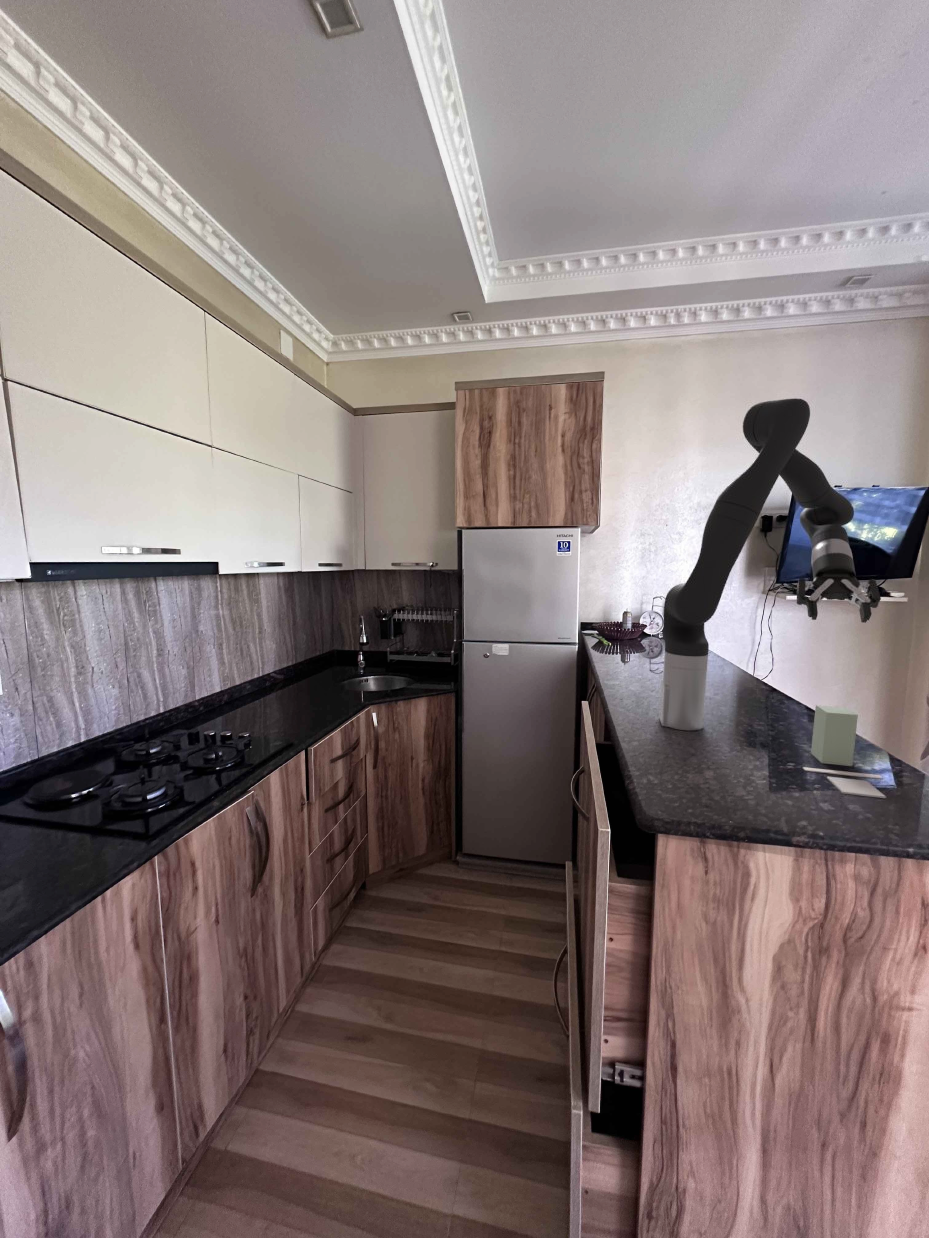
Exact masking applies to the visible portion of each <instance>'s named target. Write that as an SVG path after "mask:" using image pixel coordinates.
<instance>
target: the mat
mask: <svg viewBox="0 0 929 1238" xmlns="http://www.w3.org/2000/svg"><path fill="white" fill-rule="evenodd" d="M826 779H827V780H828V781H829V782H830V783H831V784H832V785H833V786H834V787H835V788H836V789H838V790H839V792H841V794H845V795H854V796H860V797H861V796H862V797H871V798H878V799H879V798H880V799H886V797H887V796H886V795H885V794H883V793H882V792H881V791H880V790H879V789H877V788H876V787H875V786H873V784H871V783H870V782H869V781H868V780H865V779H864V780H862V779H855V778H844V777H837V776H836V777H835V776H826Z"/></svg>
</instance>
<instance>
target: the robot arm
mask: <svg viewBox="0 0 929 1238" xmlns="http://www.w3.org/2000/svg"><path fill="white" fill-rule="evenodd" d="M810 417H811V407H810V405H809V403H808V402H807V401H806V400H805V399H804V398H803V399H802V398H798V397H797V398H785V399H784V398H783V399H776V400H767V401H763V402H758V403H755V404H753V405H752V406H751V407H750V408H749V409H748V410H747V411H746V413H745V415H744V417H743V421H742V433H743V435H744V438H745V439H746V441H747V442H748V443H749V445H750V446H751V447H752V448H753V449H754V450H755V451H756V452H757V453H758V454H757V457H756V458H755V459H754V460H753V462H752V463H751V465H749V466H748V467H747V468H746V469H745V470H744V471H743V472H742V473H740V474H739V475H738V476H737V477H736V478H735V479H734V480H732V481H731V482H730V483H729V484H728V485H727V486H726V487H725V488H724V489H723V490H722V492H721V493H720V494H719V495H718V497H717V499H716V500H715V502H714V504H713V507H712V509H711V511H710V513H709V516H708V517H707V520H706V523H705V525H704V530H703V534H702V537H701V538H702V540H701V546H700V552H699V556H698V559H697V561H696V564H695V566H694V568H693V570H692V572H691V573H690V575H689V577H688V579H687V580H686V582H684V583H683V582H682V583H679V584H676V585H674V586H672V587H671V588H670V590H669V591H668V592H667V594H666V595H665V599H664V603H663V604H664V606H663V620H662V621H663V622H662V623H663V624H662V625H663V626H662V629H663V630H662V636H663V641H664V658H663V670H662V671H663V672H662V673H663V674H662V680H661V681H660V682H661V686H660V699H659V701H660V702H659V716H658V718H659V719H658V720H659V722H660V724H661V726H662V727H668V728H671V729H675V730H680V731H699V730H702V729H703V728H704V720H705V716H704V715H705V703H706V691H707V677H708V676H707V673H708V664H709V663H708V661H709V660H708V659H709V645H710V644H709V642H708V639H707V637H706V633H705V623H706V622H708V621H709V620H711V618H712V617H713V616H714V615H715V613H716V611H717V609H718V607H719V604H720V601H721V598H722V595H723V592H724V589H725V586H726V584H727V581H728V579H729V577H730V573H731V572H732V569H733V568H734V565H735V564H736V561H737V560H738V558H739V557H740V554H741V553H742V551H743V548H744V547H745V544H746V542H747V541H748V538H749V537H750V535H751V533H752V531H753V529H754V527H755V526H756V523H757V521H758V519H759V517H760V515H761V512H762V510H763V508H764V506H765V503H766V502H767V499H768V497H769V496H770V494H771V492H772V489H773V488H774V486H775V484H776V482H777V480H778V478H779V477H780V478H781V479H782V480H783V481H784V483H785V485H786V486H787V487H788V489H789V491H790V492H791V494H792V496H793V497H794V499H795V501H796V502H797V504H798V506H800V507H801V508H804V509H803V510H802V511H801V513H800V515H799V523H800V524H801V527H802V528H803V530H804V531H805V532H806V534H807V535H808V537H809V539H810V545H811V563H810V564H811V565H810V566H811V568H812V569H811V570H812V577H813V580H810V581H809V580H806V579H805V578H804V577H800V578H798V581H797V585H796V604H797V605H800V606H802V605H804V606H806V607H807V608H806V609H807V616H808V618H811V620H812V621H816V620H817V617H818V604H819V603H820V602H821V601H822V600H823V599H826V601H827V600H828V601H829V600H831V601H832V600H837V601H845V600H846V601H847V602H849V603H850V604H851V605H855V606H857V607H858V608H859V610H858V611H859V616H860V622H861V623H864V624H865V623H867V622H868V621H869V620H870V618H871V617H872V608H873V609H876V608H878V607H879V604H880V602H881V600H882V598H881V593H880V591H879V587H878V584H877V580H875V579H869V580H868V581H865V582H863V581H859V580H858V579H857V576H856V570H855V563H854V559H853V558H854V557H853V553H852V549H851V547H850V543H849V542H850V541H849V536H848V531H847V529H845V527H843V526H845V525H847V524H849V523H850V522H851V521H852V520H853V518H854V515H855V509H854V506H853V505H852V503H851V502H850V501H849V500H848V499H847V498H846V497H845V496H843V494H841V493H839V492H838V491H837V490H835V489H834V488H833V487H832V486H831V484H830V483H829V481H828V479H827V477H826V475H825V473H824V472H823V470H822V469H821V467H819V465H818V464H817V463H816V462H814V460H812V459H810V457H808V456H806V455H805V454H803V453H801V452H800V451H799V450H798V449H797V447H798V445H799V444H800V442H801V440H802V439H803V436H804V435H805V433H806V430H807V428H808V425H809V422H810ZM809 588H811V589H812V590H814V592H813V593H812V594H811V595H810V596H807V595H806V591H808V590H809ZM865 594H866V595H865Z"/></svg>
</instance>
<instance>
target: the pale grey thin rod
mask: <svg viewBox="0 0 929 1238" xmlns="http://www.w3.org/2000/svg"><path fill="white" fill-rule="evenodd" d="M802 769H803V770H804V771H805V772H813V773H823V774H829V775H830V774H831V775H832V774H833V775H840V776H841V775H842V776H848V777H849V776H851V777H860V778H869V779H876V780H883V779H884V778H883V777H882V776H881V775H880V774H870V773H861V772H854V771H853V772H850V771H843V770H833V769H823V768H817V767H816V768H814V767H806V766H805V767H804V766H803V767H802Z"/></svg>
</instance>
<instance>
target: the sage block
mask: <svg viewBox="0 0 929 1238" xmlns="http://www.w3.org/2000/svg"><path fill="white" fill-rule="evenodd" d="M858 717H859V715H858V714H857V713H855V712H854V711H852V710H851V709H849V708H847V707H845V706H844V707H843V706H833V705H821V704H820V705H819V704H815V710H814V719H813V731H812V737H811V738H812V739H811V750H810V754H811V755H812V756H813V757H814V758H815V759H816V760H818V761H819V762H820V763H821V764H825V765H826V764H827V765H828V764H829V765H838V766H847V767H853V763H854V762H853V761H854V755H855V754H854V753H855V743H856V737H857V736H856V734H857V726H858Z"/></svg>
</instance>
